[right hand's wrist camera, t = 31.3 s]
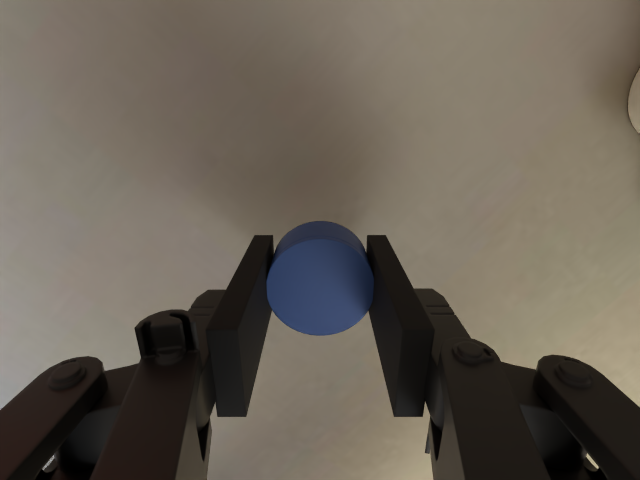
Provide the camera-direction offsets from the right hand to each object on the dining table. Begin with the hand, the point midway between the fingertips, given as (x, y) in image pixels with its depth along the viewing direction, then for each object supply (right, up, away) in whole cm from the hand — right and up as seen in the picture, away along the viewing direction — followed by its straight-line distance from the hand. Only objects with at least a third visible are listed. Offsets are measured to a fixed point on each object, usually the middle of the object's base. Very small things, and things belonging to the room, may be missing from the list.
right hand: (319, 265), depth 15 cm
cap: (0, -1, -2) cm, 2 cm away
